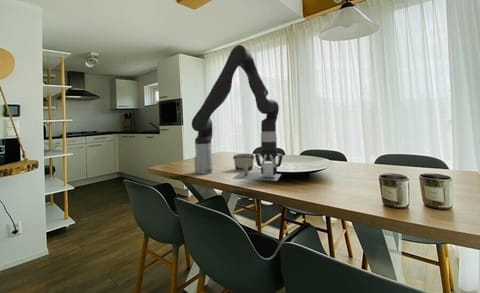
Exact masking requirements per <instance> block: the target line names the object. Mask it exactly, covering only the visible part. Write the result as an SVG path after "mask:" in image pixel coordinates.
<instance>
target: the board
mask: <svg viewBox="0 0 480 293" xmlns="http://www.w3.org/2000/svg"><path fill="white" fill-rule="evenodd" d="M248 171H249V170H248V169H247V166H244V170H243V172H239V173H238V174H236V175H235V176H234V177H232V179H234V180H235V179H236V180H252V181H253V180H255V181H270V182H271V181H272V182H273V181H274V182H277V181H278V180H279V179H280V177H281V176H282V173H277V174H276V175H275V176H274V177H263V174H262V173H261V172H248Z"/></svg>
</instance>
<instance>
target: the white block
mask: <svg viewBox="0 0 480 293" xmlns="http://www.w3.org/2000/svg"><path fill="white" fill-rule="evenodd" d="M274 176H275V175H274V165H273V163H272V162H265V164H263V177H274Z"/></svg>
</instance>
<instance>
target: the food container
mask: <svg viewBox="0 0 480 293" xmlns="http://www.w3.org/2000/svg"><path fill="white" fill-rule="evenodd" d="M254 159H255V155H254V154H251V153H237V154H236V153H235V154H234V155H233V156H232V160H233V161H234V167H235V168H234V170H236V171H239V170H240V171H241V170H242V171H244V166H247V169H248V171H252V170H253V165H254V164H253V163H254Z"/></svg>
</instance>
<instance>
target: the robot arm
mask: <svg viewBox="0 0 480 293" xmlns="http://www.w3.org/2000/svg"><path fill="white" fill-rule="evenodd" d="M239 67H240V68H241V69H242V70H243V72H244V73H245V75H246V77H247V80H248V86H249V87H250V90H251V92H252V94H253V96H254V98H255V104H256V108H257V110H258V112H260V114H263V115H265V116H266V117H265V118H263V120H261V123H260V124H261V125H260V126H261V128H260V129H261V133H260V148H261V150H260V153H256V154H254V158H255V160H256V165H257V166H258V167H261V168H260V173H262V174H263V164H265V163H267V162H271V163H273V165H274V175H276V174H278V168H280V167H281V164H282V160H283V156H284V155H283V154H282V153H278V151H277V143H278V142H277V141H278V140H277V124H276V123H277V118H278V115H279V111H280V109H279V108H280V105H279V103H278V101H277V100H275V99H271V98H267V96H268V95H269V89H268V88H267V86H266V83H264V80H263V79H262V76H261V75H260V72H259V70H258V69H257V66H256V63H255V60H254V57H253V54H252V52H251V51H250V50H249V49H247V48H246V47H244V46H243V45H241V44H238V45H236V46H234V47H233V48H232V50H231V51H230V53H229V54H228V57H227V59H226V61H225V64H224V66H223V68H222V70H221V72H220V74H219V76H218V77H217V79H216V81H215V82H214V84H213V86H212V87H211V89H210V91H209V93H208V95H207V97H206V98H205V100H204V102H203V104H202V105H201V107H200V108H199V109H198V111H196V112H197V113H195V115H194V116H193V118H192V120H191V127H192V130H193V131H195V132H197V135H196V136H197V137H196V138H195V139H194V145H195V146H194V148H195V150H194V151H195V156H194V173H195V174H199V175H207V174H212V173H213V157H212V156H213V155H212V154H213V153H212V152H213V151H212V140H213V121H212V119H211V117H212V114H213V113H214V112H215V111H216V110H218V108H219V107H220V106H221V105H223V103H224V102H225V100H226V99H227V98H228V96H229V94H230V93H231V89H232V86H233V78H234V74H235V72H236V70H237V69H238V68H239ZM261 158H262V162H261ZM276 158H278V162H276Z"/></svg>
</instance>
